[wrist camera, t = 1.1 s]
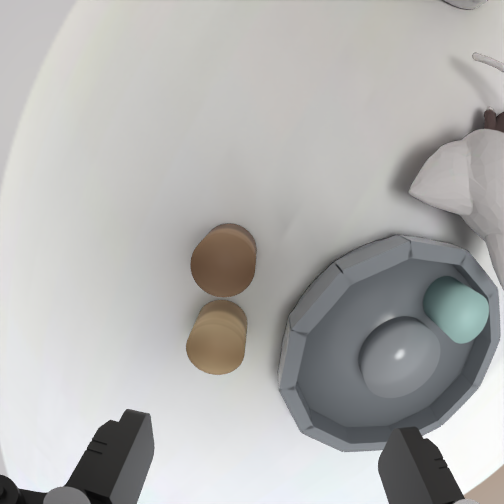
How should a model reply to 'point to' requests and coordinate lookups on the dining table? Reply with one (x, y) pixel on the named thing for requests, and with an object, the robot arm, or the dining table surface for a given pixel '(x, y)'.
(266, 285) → the dining table surface
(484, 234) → the toy
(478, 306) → the bead teal
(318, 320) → the ring tray
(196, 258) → the bead walnut
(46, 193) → the dining table surface
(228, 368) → the bead oak
